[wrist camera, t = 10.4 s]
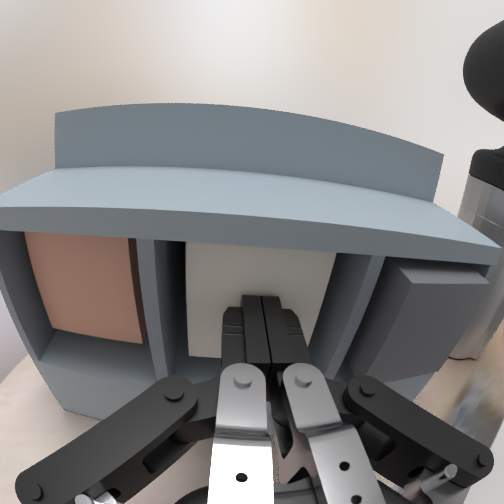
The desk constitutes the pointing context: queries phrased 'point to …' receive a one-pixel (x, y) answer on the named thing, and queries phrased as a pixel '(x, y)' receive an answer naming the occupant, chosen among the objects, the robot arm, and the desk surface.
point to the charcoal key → (414, 317)
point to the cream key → (249, 286)
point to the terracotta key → (89, 284)
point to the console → (220, 229)
